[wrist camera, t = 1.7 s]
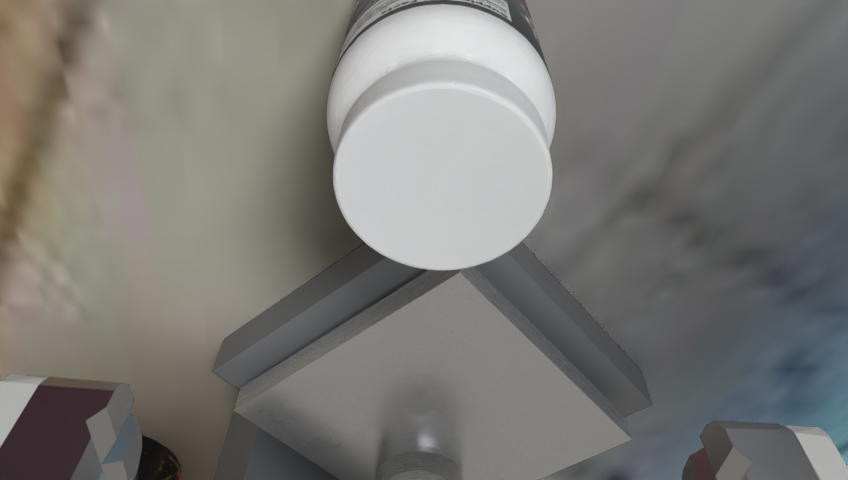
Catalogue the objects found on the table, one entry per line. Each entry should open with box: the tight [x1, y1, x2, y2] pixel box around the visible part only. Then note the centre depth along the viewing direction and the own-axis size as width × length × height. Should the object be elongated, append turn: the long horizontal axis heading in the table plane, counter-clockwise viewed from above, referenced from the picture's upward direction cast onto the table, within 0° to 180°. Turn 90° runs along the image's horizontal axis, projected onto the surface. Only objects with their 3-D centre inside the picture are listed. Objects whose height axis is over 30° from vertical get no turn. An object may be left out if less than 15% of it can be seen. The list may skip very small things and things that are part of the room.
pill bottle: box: [327, 0, 556, 270], centre depth 18 cm, size 6×6×10 cm
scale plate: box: [234, 266, 632, 480], centre depth 29 cm, size 12×12×1 cm
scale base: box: [213, 241, 652, 480], centre depth 29 cm, size 17×14×7 cm
